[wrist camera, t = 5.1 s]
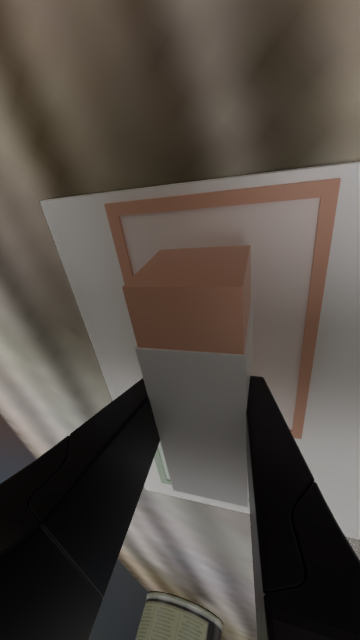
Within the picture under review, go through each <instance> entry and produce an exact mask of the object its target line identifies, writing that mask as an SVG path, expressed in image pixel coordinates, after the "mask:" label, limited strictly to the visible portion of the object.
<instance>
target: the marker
mask: <svg viewBox="0 0 360 640" xmlns="http://www.w3.org/2000/svg"><path fill="white" fill-rule="evenodd" d="M122 289H123V293H124V297H125V301H126V304H127V308H128V312H129V316H130V320H131V323H132V327H133V331H134V335H135V339H136V342H137V347H136V348H135V350H136V354H137V357H138V361H139V365H140V368H141V372H142V376H143V380H144V383H145V387H146V391H147V394H148V398H149V400H150V404H151V407H152V411H153V415H154V419H155V422H156V426H157V430H158V433H159V437H160V442H161V446H162V450H163V454H164V457H165V461H166V465H167V468H168V472H169V476H170V479H171V483H172V487H173V490H174V491H178V492H183V493H187V494H192V495H196V496H200V497H205V498H209V499H214V500H218V501H222V502H227V503H231V504H236V505H240V506H244V507H248V495H249V489H248V472H247V452H246V410H247V401H248V392H249V383H250V376H252V345H253V299H251V245H243V246H223V247H202V248H182V249H162V250H159V251H158V252H157V253H156V254H155V255H154V256H153V257H152V258H151V259H150V260H149V261H148V262H147V263H146V264H145V265H144V266H143V267H142V268H141V269H140V270H139V271H138V272H137V273H136V274H135V275H134V276H133V277H132V278H131V279H130V280H129V281H128V282H127V283H126V284H125V285H124V286H123V287H122Z"/></svg>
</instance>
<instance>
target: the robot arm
mask: <svg viewBox="0 0 360 640" xmlns="http://www.w3.org/2000/svg"><path fill="white" fill-rule="evenodd" d="M159 442H160V437H159V433H158V430H157V426H156V422H155V419H154V415H153V411H152V407H151V404H150V400H149V398H148V394H147V391H146V387H145V383H144V380H143V378H142V379H141V380H139V381H138V382H137V383H135V384H134V385H133V386H132V387H130V388H129V389H128V390H126V391H125V392H124V393H123V394H121V395H120V396H119V397H117V398H116V399H115V400H114V401H112V402H111V403H110V404H108V405H107V406H106V407H104V408H103V409H102V410H101V411H99V412H98V413H97V414H95V415H94V416H93V417H92V418H90V419H89V420H88V421H86V422H85V423H84V424H83V425H81V426H80V427H79V428H77V429H76V430H75V431H74V432H72V433H71V434H70V436H67V437H66V438H64V439H63V440H62V441H60V442H59V443H58V444H57V445H55V446H54V447H53V448H51V449H50V450H48V451H47V452H46V453H44V454H43V455H42V456H40V457H39V458H38V459H36V460H35V461H33V462H32V463H30V464H29V465H27V466H26V467H25V468H23V469H22V470H20V471H19V472H17V473H16V474H14V475H13V476H11V477H10V478H8V479H7V480H5V481H4V482H2V483H1V484H0V640H88V639H89V636H90V633H91V631H92V628H93V625H94V622H95V620H96V617H97V614H98V611H99V608H100V606H101V603H102V598H103V597H104V594H105V592H106V589H107V586H108V583H109V580H110V578H111V575H112V572H113V569H114V567H115V564H116V561H117V558H118V556H119V553H120V550H121V547H122V545H123V542H124V539H125V536H126V534H127V531H128V528H129V525H130V523H131V520H132V517H133V514H134V511H135V509H136V506H137V503H138V500H139V498H140V495H141V492H142V489H143V487H144V484H145V481H146V478H147V476H148V473H149V470H150V467H151V465H152V462H153V459H154V456H155V454H156V451H157V448H158V445H159ZM246 452H247V472H248V489H249V505H250V522H251V538H252V555H253V571H254V588H255V604H256V621H257V637H258V640H360V560H359V558H358V557H357V555H356V553H355V552H354V550H353V548H352V547H351V545H350V543H349V542H348V540H347V538H346V537H345V535H344V533H343V532H342V530H341V528H340V527H339V525H338V523H337V521H336V519H335V518H334V516H333V514H332V512H331V510H330V508H329V506H328V505H327V503H326V501H325V499H324V497H323V495H322V493H321V491H320V489H319V487H318V485H317V483H316V482H314V481H315V480H314V477H313V475H312V473H311V471H310V469H309V467H308V465H307V463H306V461H305V459H304V457H303V455H302V453H301V451H300V449H299V447H298V445H297V443H296V441H295V439H294V437H293V435H292V433H291V431H290V429H289V427H288V425H287V423H286V421H285V419H284V417H283V415H282V413H281V411H280V409H279V407H278V405H277V403H276V401H275V399H274V397H273V395H272V393H271V391H270V389H269V387H268V385H267V383H266V381H265V379H264V378H263V377H261V376H250V383H249V392H248V401H247V410H246Z"/></svg>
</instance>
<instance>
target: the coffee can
mask: <svg viewBox="0 0 360 640" xmlns="http://www.w3.org/2000/svg"><path fill="white" fill-rule="evenodd" d="M222 628H223V624H222V622H221V620H220V619H219V618H218V617H217V616H215V615H214V614H213V613H211V612H210V611H208V610H207V609H205V608H203V607H201V606H199V605H197V604H195V603H193V602H190V601H188V600H186V599H183V598H180V597H178V596H174V595H171V594H167V593H161V592H150V593H148V594H147V598H146V602H145V606H144V610H143V613H142V617H141V620H140V624H139V628H138V632H137V635H136V639H135V640H221V634H222Z"/></svg>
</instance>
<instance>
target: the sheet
mask: <svg viewBox="0 0 360 640" xmlns="http://www.w3.org/2000/svg"><path fill="white" fill-rule="evenodd" d="M40 204H41V207H42V209H43V212H44V215H45V218H46V220H47V223H48V226H49V229H50V231H51V234H52V237H53V239H54V242H55V245H56V248H57V250H58V253H59V256H60V259H61V261H62V264H63V267H64V269H65V272H66V275H67V278H68V280H69V283H70V286H71V289H72V291H73V294H74V297H75V299H76V302H77V305H78V308H79V310H80V313H81V316H82V319H83V321H84V324H85V327H86V329H87V332H88V335H89V338H90V340H91V343H92V346H93V348H94V351H95V354H96V357H97V359H98V362H99V365H100V368H101V370H102V373H103V376H104V378H105V381H106V384H107V387H108V389H109V392H110V395H111V398H112V400H113V401H114V400H115V399H116V398H117V397H119V396H120V395H121V394H123V393H124V392H125V391H126V390H128V389H129V388H130V387H132V386H133V385H134V384H135V383H137V382H138V381H139V380H141V379H142V378H143V376H142V372H141V368H140V365H139V361H138V357H137V354H136V350H135V348H136V347H137V342H136V339H135V335H134V331H133V327H132V323H131V320H130V316H129V312H128V308H127V304H126V301H125V297H124V293H123V289H122V287H123V286H124V285H125V284H126V283H127V282H128V281H129V280H130V279H131V278H132V277H133V276H134V275H135V274H136V273H137V272H138V271H139V270H140V269H141V268H142V267H143V266H144V265H145V264H146V263H147V262H148V261H149V260H150V259H151V258H152V257H153V256H154V255H155V254H156V253H157V252H158V251H159V250H162V249H182V248H202V247H223V246H243V245H251V299H253V345H252V376H261V377H263V378H264V379H265V381H266V383H267V385H268V387H269V389H270V391H271V393H272V395H273V397H274V399H275V401H276V403H277V405H278V407H279V409H280V411H281V413H282V415H283V417H284V419H285V421H286V423H287V425H288V427H289V429H290V431H291V433H292V435H293V437H294V439H295V441H296V443H297V445H298V447H299V449H300V451H301V453H302V455H303V457H304V459H305V461H306V463H307V465H308V467H309V469H310V471H311V473H312V475H313V477H314V480H315V481H314V482H316V483H317V485H318V487H319V489H320V491H321V493H322V495H323V497H324V499H325V501H326V503H327V505H328V506H329V508H330V510H331V512H332V514H333V516H334V518H335V519H336V521H337V523H338V525H339V527H340V528H341V530H342V532H343V533H344V535H345V537H350V538H354V539H358V540H360V161H355V162H347V163H339V164H330V165H322V166H314V167H306V168H298V169H290V170H281V171H273V172H265V173H257V174H249V175H241V176H233V177H224V178H216V179H208V180H200V181H192V182H184V183H175V184H167V185H159V186H151V187H143V188H135V189H127V190H118V191H110V192H102V193H94V194H86V195H78V196H69V197H61V198H53V199H46V200H42V201H40ZM144 488H145V490H149V491H153V492H157V493H161V494H166V495H170V496H174V497H179V498H183V499H187V500H191V501H196V502H200V503H204V504H208V505H213V506H217V507H221V508H226V509H230V510H234V511H238V512H243V513H247V514H250V505H249V495H248V507H244V506H240V505H236V504H231V503H227V502H222V501H218V500H214V499H209V498H205V497H200V496H196V495H192V494H187V493H183V492H178V491H174V490H173V487H172V483H171V479H170V476H169V472H168V468H167V465H166V461H165V457H164V454H163V450H162V446H161V442H159V445H158V448H157V451H156V454H155V456H154V459H153V462H152V465H151V467H150V470H149V473H148V476H147V478H146V481H145V484H144Z"/></svg>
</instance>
